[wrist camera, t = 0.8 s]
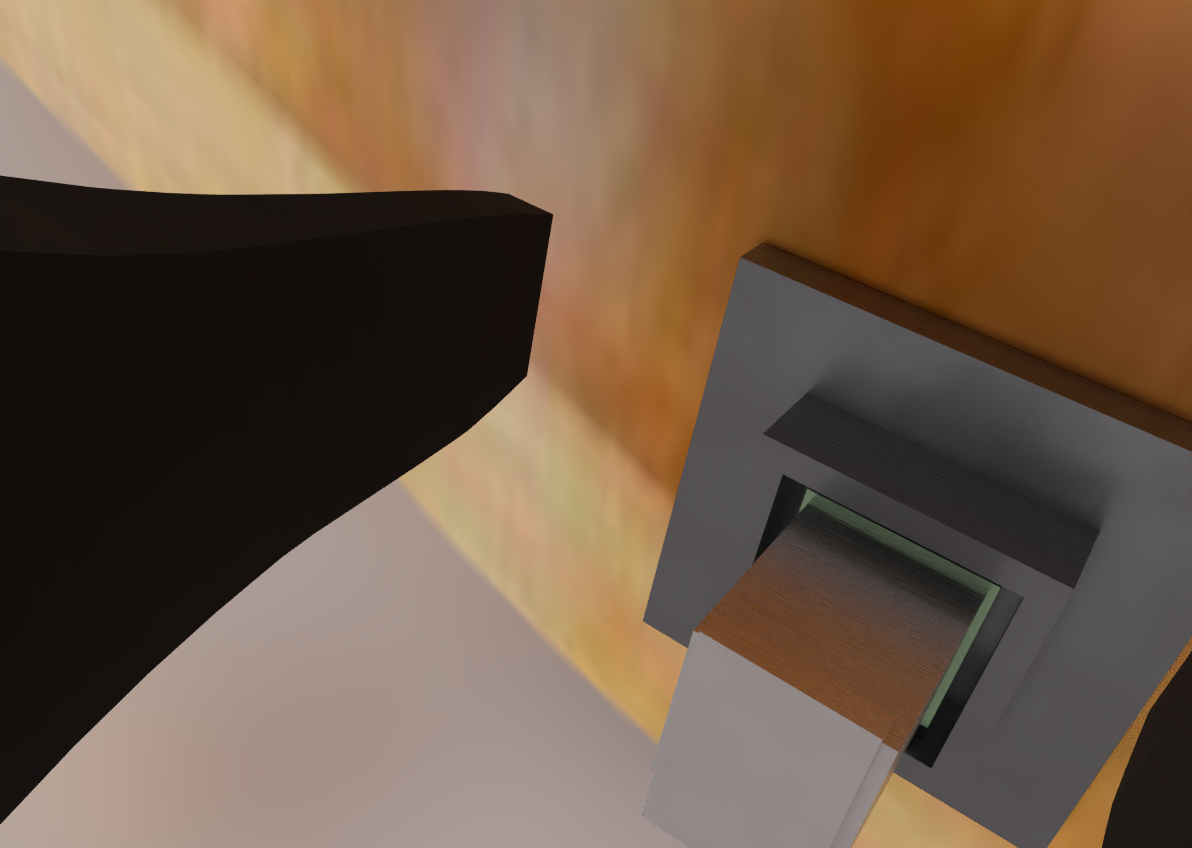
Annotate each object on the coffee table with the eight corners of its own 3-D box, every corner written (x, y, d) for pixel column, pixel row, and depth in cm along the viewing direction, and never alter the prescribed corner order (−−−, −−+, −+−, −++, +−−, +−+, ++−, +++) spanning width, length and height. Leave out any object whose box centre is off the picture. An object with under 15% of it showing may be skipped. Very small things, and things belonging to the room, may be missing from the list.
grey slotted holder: (1294, 466, 18) (1260, 643, 14) (1050, 827, 23) (978, 1024, 20) (762, 242, 22) (620, 332, 18) (663, 599, 27) (539, 727, 23)
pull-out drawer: (1030, 533, 20) (908, 755, 15) (943, 699, 22) (816, 934, 18) (842, 441, 21) (676, 617, 16) (780, 608, 24) (623, 801, 19)
